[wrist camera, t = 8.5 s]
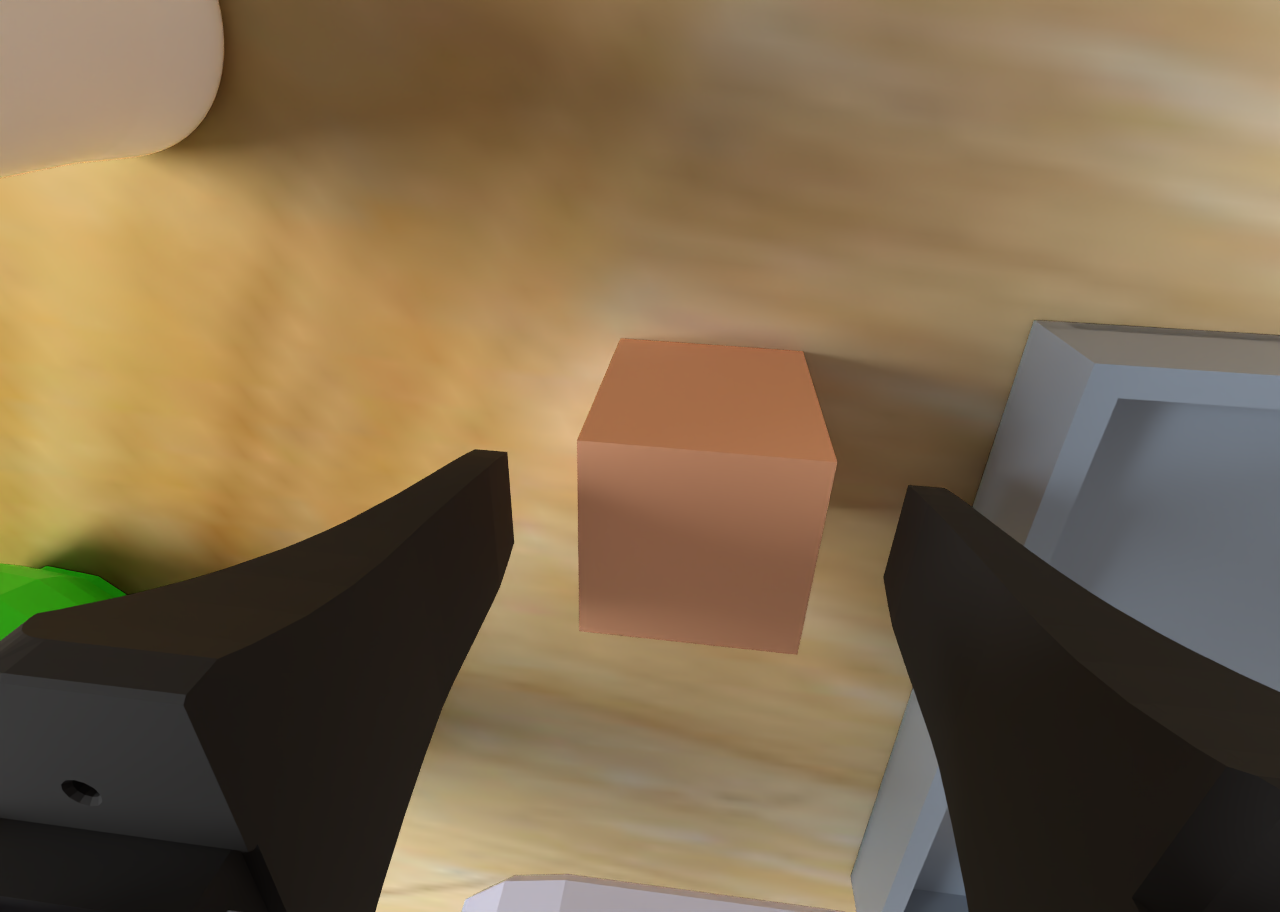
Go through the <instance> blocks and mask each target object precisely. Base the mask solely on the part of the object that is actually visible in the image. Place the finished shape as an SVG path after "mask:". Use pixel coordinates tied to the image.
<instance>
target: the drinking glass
mask: <svg viewBox="0 0 1280 912" xmlns="http://www.w3.org/2000/svg"><path fill="white" fill-rule="evenodd" d="M223 62H224V31H223V22H222V15H221V9H220V5H219V1H218V0H0V179H2V178H6V177H11V176H16V175H21V174H26V173H31V172H35V171H40V170H45V169H50V168H55V167H60V166H66V165H71V164H78V163H87V162H97V161H107V160H116V159H126V158H134V157H140V156H145V155H150V154H154V153H157V152H160V151H162V150H165V149H168V148H170V147H171V146H173V145H175V144H177V143H179V142H180V141H182V140H183V139H184V138H186V137H187V136H189V135H190V134H191V133H192V132H193V131H194V130H195V129H196V128H197V127H198V126H199V124H200V123H201V122H202V121H203V119H204V118H205V116H206V115H207V113H208V112H209V110H210V108H211V106H212V104H213V102H214V99H215V97H216V94H217V91H218V88H219V85H220V81H221V76H222V71H223Z"/></svg>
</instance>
